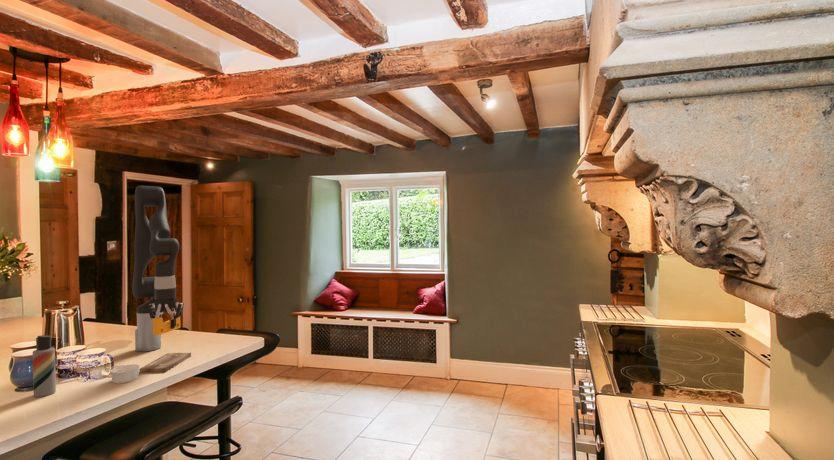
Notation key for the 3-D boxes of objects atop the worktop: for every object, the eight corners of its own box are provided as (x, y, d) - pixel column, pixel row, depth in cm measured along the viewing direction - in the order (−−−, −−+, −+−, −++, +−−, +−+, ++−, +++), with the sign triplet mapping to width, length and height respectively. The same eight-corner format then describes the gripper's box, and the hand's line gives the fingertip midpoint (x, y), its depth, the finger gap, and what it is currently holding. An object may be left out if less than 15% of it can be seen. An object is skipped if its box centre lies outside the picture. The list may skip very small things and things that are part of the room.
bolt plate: (139, 372, 164) (139, 368, 164) (167, 356, 184) (167, 352, 184) (166, 372, 164) (166, 367, 164) (191, 356, 184) (191, 352, 184)
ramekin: (117, 386, 151) (116, 374, 150) (106, 381, 155) (105, 369, 155) (144, 378, 158) (143, 366, 158) (132, 374, 163) (132, 362, 163)
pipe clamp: (171, 327, 180) (171, 312, 180) (180, 327, 179) (180, 312, 179) (149, 334, 168) (149, 318, 168) (159, 335, 167) (159, 318, 167)
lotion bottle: (33, 394, 144) (31, 335, 144) (55, 389, 148) (53, 332, 148) (34, 398, 140) (32, 338, 140) (56, 393, 144) (55, 335, 144)
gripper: (187, 285, 178) (188, 325, 178) (152, 286, 177) (153, 326, 177) (178, 288, 170) (179, 330, 170) (141, 288, 170) (142, 331, 170)
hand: (166, 328), depth 174 cm, fingers closed on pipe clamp, 4 cm apart
